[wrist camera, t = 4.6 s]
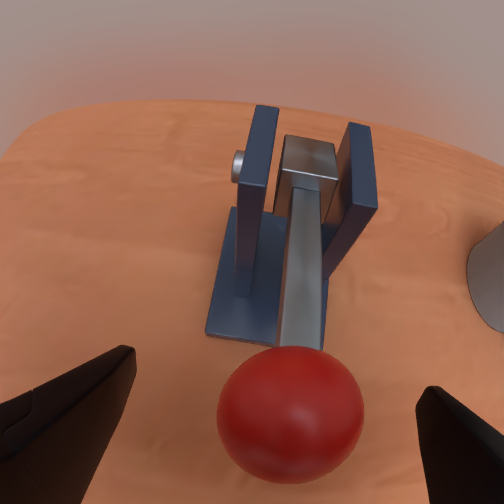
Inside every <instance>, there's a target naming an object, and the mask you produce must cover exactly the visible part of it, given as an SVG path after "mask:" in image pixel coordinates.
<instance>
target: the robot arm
mask: <svg viewBox="0 0 504 504" xmlns="http://www.w3.org/2000/svg"><path fill="white" fill-rule="evenodd" d="M136 372H137V366H136V352H135V349H134V348H133V347H130V346H126V345H119V346H117V347H116V348H114V349H112V350H110V351H108V352H106V353H104V354H102V355H100V356H98V357H96V358H94V359H92V360H90V361H88V362H86V363H84V364H82V365H80V366H78V367H76V368H74V369H72V370H70V371H68V372H66V373H64V374H62V375H60V376H58V377H56V378H54V379H52V380H50V381H48V382H46V383H44V384H42V385H40V386H38V387H36V388H34V389H33V391H32V390H30V391H28V392H26V393H24V394H22V395H20V396H18V397H15V398H13V399H11V400H9V401H6V402H4V403H1V404H0V504H81V502H82V500H83V498H84V495H85V493H86V491H87V489H88V486H89V484H90V482H91V480H92V478H93V476H94V473H95V471H96V469H97V467H98V465H99V463H100V461H101V458H102V456H103V454H104V452H105V450H106V448H107V446H108V444H109V442H110V439H111V437H112V435H113V433H114V431H115V429H116V427H117V425H118V423H119V421H120V419H121V416H122V414H123V411H124V408H125V405H126V402H127V399H128V396H129V393H130V390H131V388H132V385H133V382H134V379H135V376H136ZM415 412H416V420H417V428H418V437H419V446H420V452H421V457H422V462H423V468H424V473H425V478H426V484H427V490H428V496H429V502H430V504H504V435H502V434H501V433H500V432H498V431H497V430H496V429H494V428H493V427H492V426H491V425H489V424H488V423H487V422H485V421H484V420H483V419H481V418H480V417H479V416H477V415H476V414H475V413H474V412H472V411H471V410H470V409H468V408H467V407H466V406H464V405H463V404H462V403H460V402H459V401H458V400H457V399H455V398H454V397H453V396H451V395H450V394H449V393H447V392H446V391H445V390H443V389H442V388H441V387H439V386H428V387H427V388H426V389H425V390H424V392H423V394H422V396H421V397H420V399H419V401H418V402H417V404H416V409H415Z"/></svg>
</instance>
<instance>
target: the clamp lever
mask: <svg viewBox="0 0 504 504" xmlns="http://www.w3.org/2000/svg"><path fill="white" fill-rule="evenodd" d="M338 181H339V178H338V170H337V162H336V155H335V147H334V144H333V143H329V142H324V141H319V140H314V139H309V138H304V137H298V136H293V135H287V134H286V135H285V137H284V142H283V148H282V153H281V159H280V164H279V170H278V175H277V183H276V190H275V198H274V205H273V213H272V214H273V215H274V216H279V217H285V218H287V227H286V239H285V250H284V261H283V271H282V282H281V292H280V302H279V311H278V321H277V330H276V339H275V348H271V349H268V350H265V351H263V352H260V353H258V354H256V355H254V356H252V357H251V358H249V359H248V360H246V361H245V362H244V363H242V364H241V365H240V366H239V367H238V368H237V369H236V370H235V371H234V372H233V374H232V375H231V376H230V377H229V379H228V380H227V382H226V384H225V385H224V387H223V390H222V392H221V395H220V398H219V402H218V406H217V428H218V433H219V436H220V439H221V442H222V444H223V446H224V448H225V450H226V451H227V453H228V454H229V456H230V457H231V458H232V459H233V460H234V462H235V463H236V464H237V465H238V466H240V467H241V468H242V469H243V470H245V471H246V472H248V473H249V474H251V475H253V476H254V477H257V478H259V479H261V480H264V481H268V482H271V483H277V484H299V483H305V482H309V481H312V480H315V479H318V478H320V477H323V476H325V475H326V474H328V473H330V472H331V471H333V470H334V469H335V468H337V467H338V466H339V465H340V464H341V463H342V462H343V461H344V460H345V459H346V458H347V457H348V456H349V455H350V453H351V452H352V451H353V449H354V447H355V445H356V444H357V442H358V439H359V437H360V434H361V431H362V427H363V422H364V404H363V399H362V395H361V392H360V389H359V386H358V384H357V382H356V380H355V379H354V377H353V376H352V374H351V373H350V372H349V371H348V369H347V368H346V367H345V366H344V365H343V364H342V363H341V362H339V361H338V360H337V359H335V358H334V357H332V356H330V355H329V354H327V353H325V352H322V351H320V348H321V313H322V230H321V224H324V222H325V220H326V217H327V214H328V211H329V208H330V205H331V202H332V199H333V196H334V193H335V190H336V187H337V184H338Z"/></svg>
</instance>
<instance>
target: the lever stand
mask: <svg viewBox="0 0 504 504" xmlns="http://www.w3.org/2000/svg"><path fill="white" fill-rule="evenodd" d="M278 115H279V108H277V107H271V106H264V105H256V108H255V112H254V116H253V120H252V124H251V128H250V132H249V136H248V141H247V145H246V149H245V151H239V150H237V151H236V153H235V155H234V160H233V165H232V172H231V181H232V182H233V183H238V188H237V207H233V206H232V207H231V211H230V215H229V219H228V224H227V228H226V233H225V237H224V242H223V247H222V251H221V256H220V261H219V265H218V270H217V275H216V279H215V284H214V289H213V294H212V299H211V304H210V308H209V313H208V318H207V323H206V328H205V333H206V335H207V336H212V337H217V338H223V339H228V340H234V341H240V342H246V343H252V344H259V345H265V346H272V347H275V339H276V330H277V321H278V311H279V302H280V292H281V282H282V271H283V261H284V250H285V239H286V227H287V218H285V217H279V216H274V215H273V214H272V213H270V212H264V211H263V209H264V202H265V196H266V190H267V184H268V178H269V171H270V165H271V159H272V153H273V147H274V140H275V134H276V128H277V122H278ZM336 162H337V170H338V178H339V181H338V184H337V187H336V190H335V193H334V196H333V199H332V202H331V205H330V208H329V211H328V214H327V217H326V220H325V222H324V224H321V230H322V313H321V348H320V351H322V350H323V342H324V331H325V321H326V309H327V296H328V283H329V277H330V275H331V274H332V273H333V271H334V270H335V269H336V267H337V266H338V265H339V263H340V262H341V260H342V259H343V258H344V256H345V255H346V254H347V252H348V251H349V249H350V248H351V247H352V245H353V244H354V242H355V241H356V240H357V238H358V237H359V235H360V234H361V233H362V231H363V230H364V228H365V227H366V225H367V224H368V223H369V221H370V220H371V218H372V217H373V215H374V214H375V212H376V211H377V209H378V200H377V187H376V175H375V165H374V155H373V147H372V138H371V131H370V127H369V126H365V125H361V124H357V123H353V122H349V123H348V126H347V128H346V131H345V134H344V136H343V139H342V141H341V144H340V147H339V149H338V152H337V155H336Z"/></svg>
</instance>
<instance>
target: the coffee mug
mask: <svg viewBox="0 0 504 504" xmlns="http://www.w3.org/2000/svg"><path fill="white" fill-rule="evenodd" d="M467 280H468V287H469V291H470V294H471V297H472V300H473V302H474V305H475V307H476V309H477V310H478V312H479V314H480V316H481V317H482V318H483V319H484V321H485V322H486V323H487V324H488V325H489V326H490V327H492V328H493V329H495V330H497V331H499V332H503V333H504V221H503V222H502V223H501V224H500V225H499V226H498V227H496V228H495V229H494V230H493V231H492V232H490V233H489V234H488V235H487V236H486V237H485V238H483V239H482V240H481V241H480V242H478V243H477V244H476V245H475V246H474V247H473V249H472V250H471V252H470V255H469V258H468V263H467Z"/></svg>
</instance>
